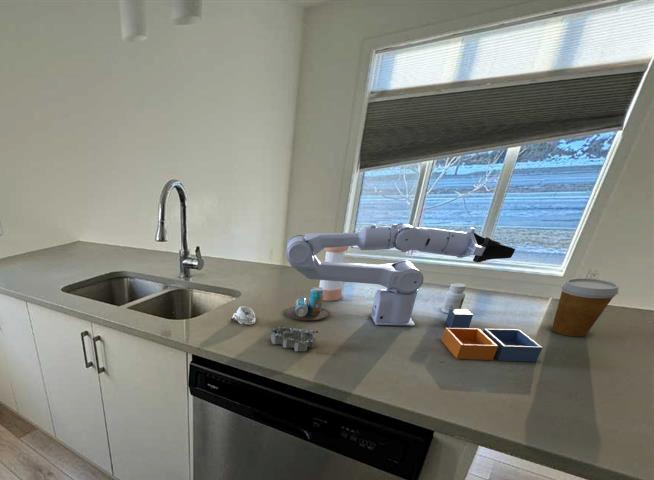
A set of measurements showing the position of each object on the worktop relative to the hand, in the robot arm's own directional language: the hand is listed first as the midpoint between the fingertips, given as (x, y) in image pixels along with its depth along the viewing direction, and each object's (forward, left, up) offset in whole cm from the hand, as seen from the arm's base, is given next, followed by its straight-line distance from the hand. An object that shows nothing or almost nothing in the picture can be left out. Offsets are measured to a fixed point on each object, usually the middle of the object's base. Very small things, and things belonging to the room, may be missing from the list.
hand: (505, 250), depth 98 cm
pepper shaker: (-35, +21, -19) cm, 45 cm away
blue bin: (-1, -17, -19) cm, 26 cm away
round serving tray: (-43, +5, -19) cm, 47 cm away
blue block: (-6, -2, -19) cm, 20 cm away
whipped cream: (-61, -2, -19) cm, 64 cm away
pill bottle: (-4, +9, -19) cm, 21 cm away
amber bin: (-9, -17, -19) cm, 27 cm away
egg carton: (-48, -17, -19) cm, 54 cm away
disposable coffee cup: (+17, -4, -19) cm, 26 cm away
